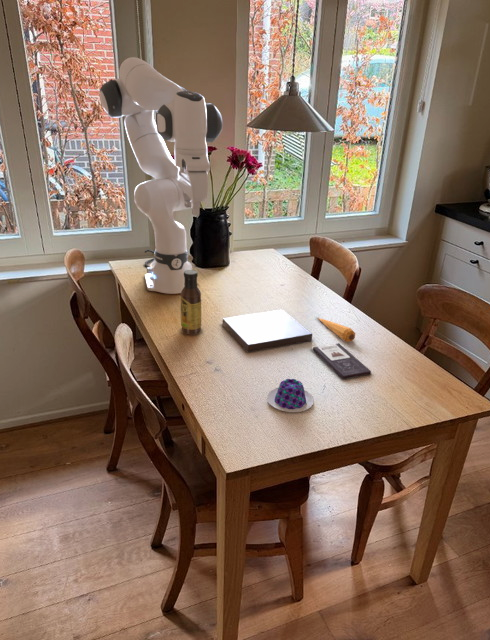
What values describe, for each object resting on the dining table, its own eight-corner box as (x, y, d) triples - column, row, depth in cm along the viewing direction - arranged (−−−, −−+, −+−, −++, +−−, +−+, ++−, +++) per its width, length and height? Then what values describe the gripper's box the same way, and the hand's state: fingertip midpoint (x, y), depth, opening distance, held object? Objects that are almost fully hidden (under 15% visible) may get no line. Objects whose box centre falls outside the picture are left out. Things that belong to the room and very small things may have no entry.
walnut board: (222, 325, 173) (222, 318, 172) (281, 316, 182) (282, 309, 181) (248, 352, 158) (248, 344, 157) (311, 340, 167) (312, 333, 166)
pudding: (323, 406, 135) (325, 389, 132) (284, 419, 129) (285, 401, 127) (295, 384, 144) (297, 367, 141) (257, 395, 138) (258, 378, 135)
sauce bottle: (180, 327, 170) (178, 267, 160) (199, 326, 172) (199, 267, 162) (182, 336, 165) (181, 275, 155) (202, 335, 166) (202, 274, 156)
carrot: (354, 345, 168) (359, 331, 167) (343, 342, 165) (349, 328, 164) (319, 325, 184) (324, 313, 183) (309, 322, 181) (314, 310, 180)
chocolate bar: (343, 376, 147) (313, 347, 161) (342, 379, 147) (312, 350, 161) (370, 371, 150) (338, 343, 164) (370, 374, 151) (338, 346, 165)
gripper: (171, 153, 152) (173, 202, 159) (187, 165, 136) (188, 220, 143) (193, 153, 154) (194, 202, 161) (211, 165, 138) (211, 219, 145)
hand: (191, 210), depth 152 cm, fingers open, 8 cm apart
